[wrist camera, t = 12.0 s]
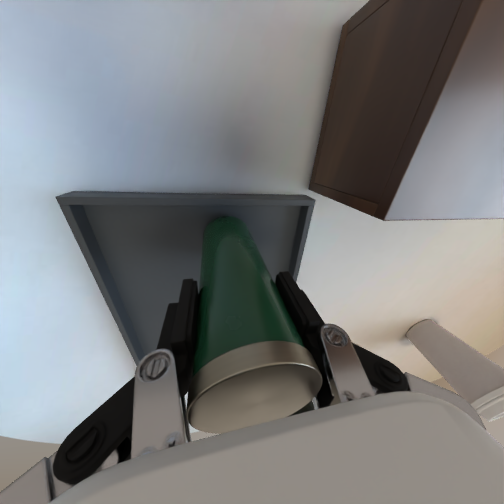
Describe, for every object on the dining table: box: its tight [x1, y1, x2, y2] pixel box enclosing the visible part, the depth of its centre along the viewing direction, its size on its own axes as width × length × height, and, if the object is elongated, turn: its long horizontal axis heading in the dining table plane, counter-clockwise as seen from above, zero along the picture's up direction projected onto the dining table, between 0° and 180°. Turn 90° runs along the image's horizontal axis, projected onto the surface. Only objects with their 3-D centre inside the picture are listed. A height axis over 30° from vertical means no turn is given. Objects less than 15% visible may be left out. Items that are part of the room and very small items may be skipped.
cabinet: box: [309, 0, 504, 221], centre depth 13 cm, size 15×12×10 cm
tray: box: [56, 191, 315, 366], centre depth 24 cm, size 31×21×2 cm
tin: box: [186, 216, 322, 434], centre depth 12 cm, size 5×5×14 cm
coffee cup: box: [406, 320, 504, 421], centre depth 35 cm, size 10×10×15 cm
